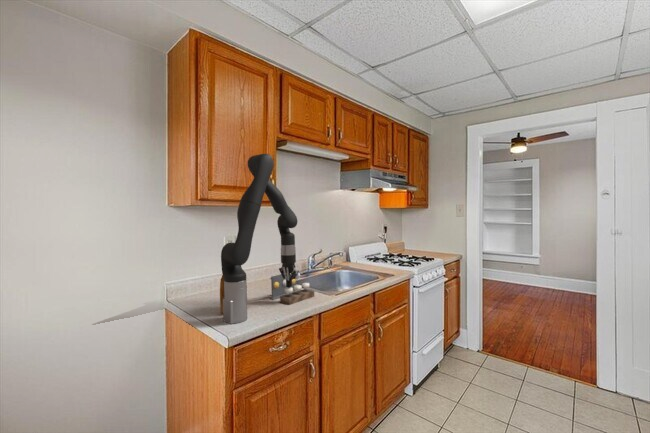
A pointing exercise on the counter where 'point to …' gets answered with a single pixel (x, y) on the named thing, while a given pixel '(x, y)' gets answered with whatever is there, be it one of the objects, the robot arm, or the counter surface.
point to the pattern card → (279, 286)
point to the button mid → (297, 287)
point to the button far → (305, 285)
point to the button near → (289, 290)
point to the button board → (296, 296)
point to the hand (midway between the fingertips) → (289, 287)
